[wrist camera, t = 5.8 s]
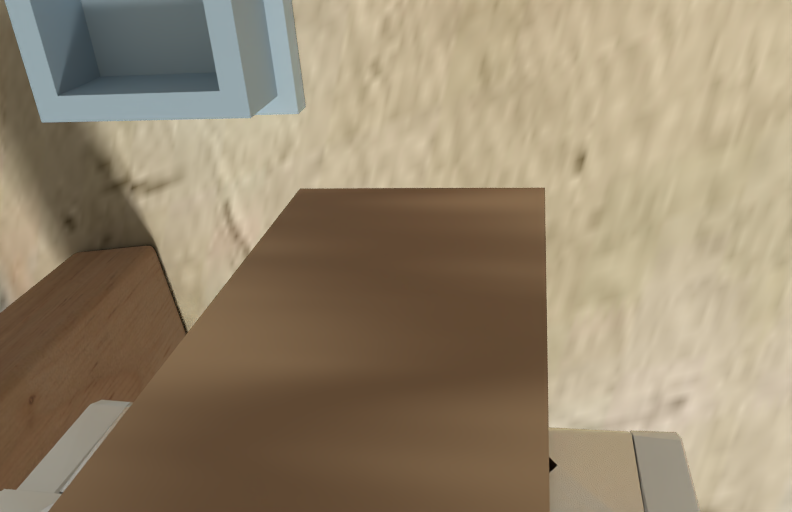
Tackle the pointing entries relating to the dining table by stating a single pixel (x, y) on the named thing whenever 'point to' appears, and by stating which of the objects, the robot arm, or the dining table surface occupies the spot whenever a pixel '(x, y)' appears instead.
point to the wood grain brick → (353, 368)
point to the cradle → (159, 58)
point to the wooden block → (79, 348)
